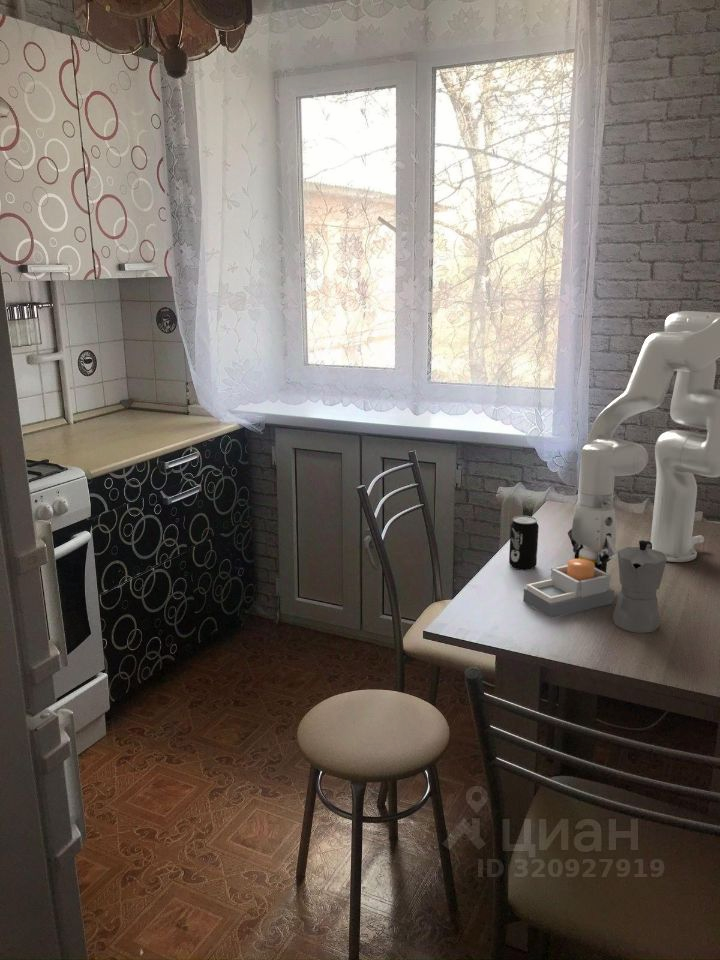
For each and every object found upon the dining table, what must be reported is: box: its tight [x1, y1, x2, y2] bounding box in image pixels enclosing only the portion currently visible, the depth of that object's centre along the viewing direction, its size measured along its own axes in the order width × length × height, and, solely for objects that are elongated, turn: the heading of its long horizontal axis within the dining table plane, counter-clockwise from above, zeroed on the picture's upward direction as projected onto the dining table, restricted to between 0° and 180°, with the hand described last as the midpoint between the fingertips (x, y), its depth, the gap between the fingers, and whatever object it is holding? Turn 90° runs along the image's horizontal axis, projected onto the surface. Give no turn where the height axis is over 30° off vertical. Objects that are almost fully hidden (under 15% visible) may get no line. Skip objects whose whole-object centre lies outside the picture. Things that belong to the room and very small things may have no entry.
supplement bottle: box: [579, 545, 603, 563], centre depth 180 cm, size 5×5×10 cm
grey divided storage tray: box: [522, 564, 615, 619], centre depth 169 cm, size 17×10×6 cm, turn 115°
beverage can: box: [508, 515, 540, 571], centre depth 189 cm, size 7×7×12 cm
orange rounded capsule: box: [567, 558, 595, 590], centre depth 170 cm, size 6×6×5 cm
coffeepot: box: [612, 540, 668, 634], centre depth 158 cm, size 15×9×18 cm, turn 151°
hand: (589, 572), depth 180 cm, fingers open, 5 cm apart
